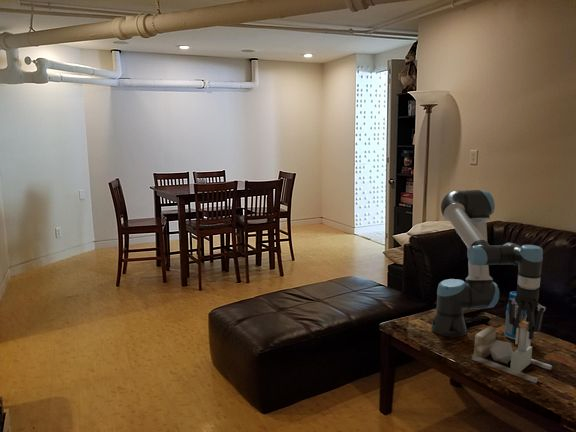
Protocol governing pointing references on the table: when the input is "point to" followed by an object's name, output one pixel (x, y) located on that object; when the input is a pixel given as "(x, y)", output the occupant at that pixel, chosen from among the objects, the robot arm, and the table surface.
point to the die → (501, 351)
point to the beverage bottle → (509, 327)
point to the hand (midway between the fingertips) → (522, 344)
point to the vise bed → (482, 350)
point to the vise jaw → (521, 350)
